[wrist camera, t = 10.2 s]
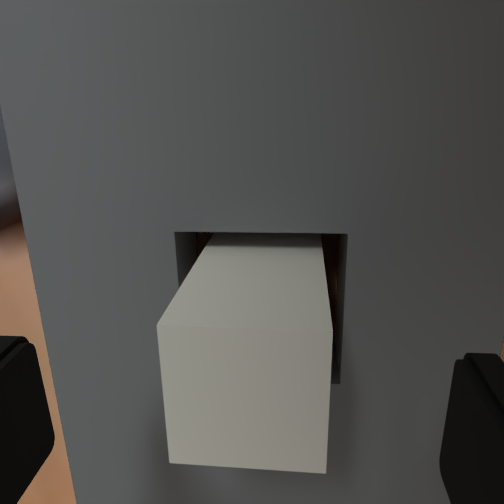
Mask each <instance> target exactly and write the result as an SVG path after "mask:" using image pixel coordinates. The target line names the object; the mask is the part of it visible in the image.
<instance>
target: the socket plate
mask: <svg viewBox="0 0 504 504" xmlns="http://www.w3.org/2000/svg"><path fill="white" fill-rule="evenodd" d="M0 106H1V111H2V116H3V121H4V127H5V132H6V137H7V142H8V147H9V153H10V158H11V163H12V168H13V174H14V179H15V184H16V189H17V195H18V200H19V205H20V210H21V215H22V221H23V226H24V231H25V236H26V242H27V247H28V252H29V257H30V262H31V268H32V273H33V278H34V283H35V289H36V294H37V299H38V304H39V309H40V315H41V320H42V325H43V330H44V336H45V341H46V346H47V351H48V356H49V362H50V367H51V372H52V377H53V383H54V388H55V393H56V398H57V403H58V409H59V414H60V419H61V424H62V430H63V435H64V440H65V445H66V450H67V456H68V461H69V466H70V471H71V477H72V482H73V487H74V492H75V497H76V503H77V504H451V503H450V500H449V497H448V494H447V491H446V489H445V486H444V483H443V480H442V477H441V473H440V466H439V457H440V451H441V444H442V438H443V432H444V426H445V419H446V413H447V407H448V401H449V394H450V388H451V382H452V376H453V369H454V364H455V361H456V360H457V359H463V358H464V356H465V354H466V353H494V354H497V355H498V356H499V357H500V354H501V349H502V343H503V338H504V0H0ZM196 232H254V233H339V254H338V276H337V298H336V320H335V341H332V362H331V382H330V402H329V423H328V443H327V464H326V474H323V473H308V472H293V471H279V470H264V469H249V468H235V467H220V466H205V465H191V464H176V463H169V453H168V442H167V432H166V421H165V411H164V400H163V389H162V379H161V368H160V357H159V347H158V336H157V323H158V322H159V320H160V319H161V317H162V315H163V314H164V312H165V311H166V309H167V307H168V306H169V304H170V302H171V301H172V299H173V298H174V296H175V294H176V293H177V291H178V290H179V288H180V286H181V285H182V283H183V282H184V280H185V278H186V277H187V275H188V273H189V272H190V270H191V269H192V267H193V265H194V264H195V262H196V261H197V244H196Z"/></svg>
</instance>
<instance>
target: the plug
mask: <svg viewBox="0 0 504 504" xmlns="http://www.w3.org/2000/svg"><path fill="white" fill-rule="evenodd" d="M157 336H158V347H159V357H160V368H161V379H162V389H163V400H164V411H165V421H166V432H167V442H168V453H169V463H176V464H191V465H205V466H220V467H235V468H249V469H264V470H279V471H293V472H308V473H323V474H326V464H327V443H328V423H329V402H330V382H331V362H332V341H333V328H332V320H331V312H330V304H329V297H328V289H327V281H326V273H325V265H324V257H323V250H322V242H321V234H320V233H254V232H214V233H213V235H212V236H211V238H210V240H209V241H208V243H207V244H206V246H205V248H204V249H203V251H202V253H201V254H200V256H199V257H198V259H197V261H196V262H195V264H194V265H193V267H192V269H191V270H190V272H189V273H188V275H187V277H186V278H185V280H184V282H183V283H182V285H181V286H180V288H179V290H178V291H177V293H176V294H175V296H174V298H173V299H172V301H171V302H170V304H169V306H168V307H167V309H166V311H165V312H164V314H163V315H162V317H161V319H160V320H159V322H158V323H157Z"/></svg>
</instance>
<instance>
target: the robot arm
mask: <svg viewBox="0 0 504 504" xmlns="http://www.w3.org/2000/svg"><path fill="white" fill-rule="evenodd" d="M54 440H55V435H54V430H53V426H52V421H51V417H50V412H49V408H48V403H47V399H46V394H45V389H44V385H43V380H42V376H41V371H40V367H39V362H38V358H37V353H36V349H35V346H34V345H33V344H31V343H29V341H28V340H27V338H25V337H23V336H0V504H17V502H18V501H19V499H20V498H21V496H22V495H23V493H24V492H25V490H26V489H27V487H28V486H29V484H30V483H31V481H32V480H33V478H34V477H35V475H36V474H37V472H38V471H39V469H40V468H41V466H42V465H43V463H44V462H45V460H46V459H47V457H48V456H49V454H50V453H51V451H52V449H53V446H54ZM439 466H440V473H441V477H442V480H443V483H444V486H445V489H446V491H447V494H448V497H449V500H450V503H451V504H504V362H503V361H502V360H501V358H500V357H499V356H498V355H497V354H494V353H466V354H465V356H464V358H463V359H457V360H456V361H455V364H454V369H453V376H452V382H451V388H450V394H449V401H448V407H447V413H446V419H445V426H444V432H443V438H442V444H441V451H440V457H439Z"/></svg>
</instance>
